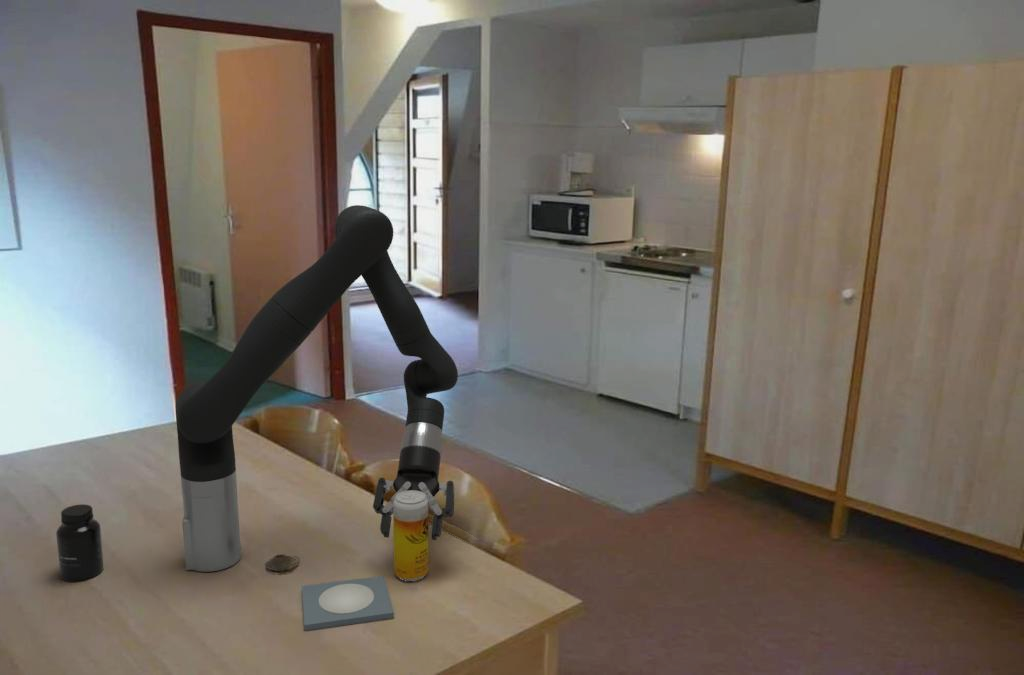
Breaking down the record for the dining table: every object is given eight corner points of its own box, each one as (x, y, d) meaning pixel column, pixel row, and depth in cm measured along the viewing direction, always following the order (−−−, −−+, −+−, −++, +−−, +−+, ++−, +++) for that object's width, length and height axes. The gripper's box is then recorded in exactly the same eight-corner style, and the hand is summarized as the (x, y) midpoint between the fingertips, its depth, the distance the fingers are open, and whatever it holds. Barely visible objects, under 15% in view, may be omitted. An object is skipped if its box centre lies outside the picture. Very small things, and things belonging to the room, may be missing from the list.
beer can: (422, 585, 139) (422, 505, 135) (389, 580, 140) (388, 501, 137) (432, 568, 145) (432, 491, 141) (400, 564, 146) (399, 487, 142)
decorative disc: (257, 573, 142) (257, 568, 142) (274, 556, 148) (274, 552, 148) (291, 577, 141) (291, 572, 141) (307, 560, 147) (307, 555, 147)
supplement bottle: (60, 586, 136) (52, 521, 133) (61, 568, 142) (53, 505, 139) (104, 577, 139) (98, 513, 137) (104, 559, 145) (97, 498, 142)
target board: (304, 630, 125) (304, 623, 125) (301, 591, 136) (301, 584, 136) (393, 618, 129) (393, 611, 128) (384, 580, 140) (384, 574, 140)
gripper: (379, 442, 145) (365, 528, 137) (457, 445, 144) (448, 532, 136) (386, 458, 152) (373, 542, 143) (460, 461, 151) (452, 546, 142)
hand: (409, 537), depth 139 cm, fingers open, 8 cm apart
